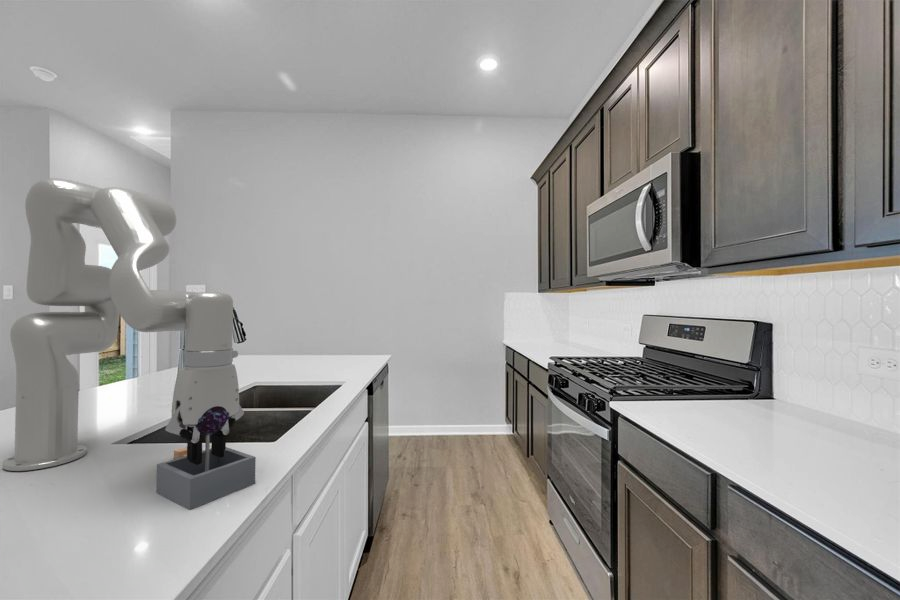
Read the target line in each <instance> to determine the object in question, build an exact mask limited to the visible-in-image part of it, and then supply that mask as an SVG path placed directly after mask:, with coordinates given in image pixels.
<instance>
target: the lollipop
mask: <svg viewBox="0 0 900 600" xmlns="http://www.w3.org/2000/svg"><path fill="white" fill-rule="evenodd" d="M228 419H229V412H227V411H226V409H225V408H223V407H221V406H216V407H212V408H210V409H208V410H207V411H206V412H205V413H204V414H203V415H202V417H201V418H200V419H199V420H198V424H197V425H195V426H196V429H197V430H198V431H199V432H200V436H205V449H204V450H205V472H206V471H209V449H210V444H211V443H210V440H211V438H210V437H211V436H212V434H214V433H216V432H218V431H219V430H220V429H222V428H223V426H224V425H225V423H226V421H227V420H228ZM189 428H190V429H191V430H192V428H191V427H189Z"/></svg>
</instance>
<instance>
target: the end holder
mask: <svg viewBox="0 0 900 600" xmlns="http://www.w3.org/2000/svg"><path fill="white" fill-rule="evenodd" d="M155 482H156V483H155V486H156V487H155V488H156V489H155V493H156V494H158V495H161V496H162V497H164V498H166V499H168V500H170V501H172V502H174V503H176V504H177V505H180V506H182V507H183V508H185V509H187V510H189V511H190V510H193V509H195V508H198V507H201V506H202V505H205V504H208V503H211V502H213V501H215V500H218V499H220V498H223V497H226V496H228V495H230V494H232V493H235V492H238V491H240V490H242V489H245V488H247V487H248V488H249V487H250V486H253V485H254V484H256V456H254V455H251V454H248V453H245V452H242V451H239V450H236V449H233V448H230V447H227V446H226V449H225V450H224V457H217V456H215V455H212V454H211V448H209V471H206V472H205V449H204V450H202V463H201V464H199V465H196V464H193V463H191V462H189V460H188V459H187V456H183V457H180V458H177V459H174V458H173V459H170V460H167V461H163V462H161V463H157V464H156V481H155Z"/></svg>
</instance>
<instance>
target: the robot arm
mask: <svg viewBox="0 0 900 600" xmlns="http://www.w3.org/2000/svg"><path fill="white" fill-rule="evenodd" d="M24 207H25V215H26V216H25V217H26V220H27V224H28V228H29V232H30V233H29V234H30V246H29V256H28V265H27V275H26V276H27V277H26V294H27V298H28V299H29V300H30V301H31V302H33V303H34V304H37V305H40V306H51V307H52V306H53V307H84V311H44V312H33V313H29V314H25V315H24V316H20V317H19V318H18V319H16V320H15V322H13V324H12V326H11V327H10V331H9V332H10V333H9V337H10V343H11V347H12V351H13V356H14V362H15V378H16V379H15V415H14V416H15V419H14V420H15V421H14V424H15V425H14V453H13V454H14V455H13V456H12V455H11V456H10V457H8V458H6V459H5V460H4V461H3V462H2V469H3V470H5V471H9V472H12V471H13V472H23V471H25V472H26V471H34V470H40V469H46V468H52V467H55V466H60V465H64V464H67V463H70V462H73V461H75V460H78V459H80V458H81V457H83V456H85V455H86V454H87V451H88V450H87V449H88V448H87V446H86V445H83V444H78V442H79V441H78V436H79V435H78V434H79V433H78V432H79V431H78V430H79V399H80V398H79V397H80V396H79V395H80V394H79V392H80V391H79V390H80V388H79V387H80V383H79V382H80V376H79V372H78V370H77V368H76V367H75V366H74V365H73V364H72V362H71V361H70V360H69V359H68V358H67V356H71V355H78V354H90V353H91V354H92V353H99V352H103V351H107V350H108V349H110V348H111V347H112V346H113V345H114V344H115V342H116V340H117V337H118V332H119V323H120V316H121V318H122V319H123V321H124V323H126V324H127V325H128V326H129V327H131V329H133V330H135V331H137V332H142V333H157V332H158V333H159V332H179V331H180V332H181V331H185V332H184V333H185V336H184V365H183V367H182V368H178V372H177V375H176V379H175V382H174V388H173V393H172V401H171V402H172V403H171V404H172V405H171V417H170V420H169V421H168V423H167V425H166V426H165V429H164V430H165V432H167V433H170V434H174V435H177V436H179V437H180V438H182V439H183V440H184V441H186V443H187V445H186V447H187V459H188V460H189V462H191V463H193V464H196V465H199V464H201V463H202V451H203V442H202V441H201V440H200V436H201V435H200V432H199V431H198V430H197V429H196V426H195V425H197V424H198V420H199V419H200V418H201V417H202V415H203V414H204V413H205V412H206V411H207V410H208V409H210V408H212V407H216V406H221V407H223V408H225V409H226V411H227V412H229V419H228V420H227V421H226V423H225V425H224V426H223V428H222V429H220V430H219V431H218V432H216V433H214V434H211V448H210V449H211V454H212V455H215V456H217V457H224V450H225V449H226V447H227V446H226V444H227V443H226V442H227V435H228V434H229V433H230V429H231V428H232V427H233V426H234V424H235V423H236V421H239V419H241V418H242V416H244V414H245V411H244V410H243V408H242V407H241V404H240V391H239V380H238V374H237V369H236V365H235V364H233V363H232V362H234V360H233V359H234V358H238V356H239V352H238V350H234V349H233V333H234V332H233V330H234V329H233V323H234V320H233V319H234V300H233V297H232V296H231V295H230V294H228V293H224V292H206V291H205V292H196V291H195V292H194V291H179V290H160V289H157V290H156V289H150V288H149V287H148V286H147V283H146V282H145V280H144V278H143V276H142V275H141V272H140V271H143V270H147V269H148V268H153V267H154V266H156V265H158V264H160V263H161V262H162V261H164V260H165V259H166V258H167V257H168V255H169V253H170V246H169V244H168V241H167V240H166V238H165V236H169V235H170V234H171V233H172V232H173V231H174V229H175V227H176V224H177V216H176V211H175V210H174V208H173V207H172V205H171V204H169V203H168V202H167V201H166V200H164V199H162V198H161V197H157V196H154V195H150V194H147V193H143V192H139V191H136V190H130V189H128V188H122V187H116V186H115V187H105V188H101V187H98V186H95V185H91V184H87V183H83V182H79V181H74V180H71V179H64V178H54V177H53V178H52V177H51V178H43V179H39V180H38V181H36V182H35V183H33V184H32V185H31V187H30V188H29V189H28V193H27V195H26V197H25V206H24ZM74 224H78V225H85V226H90V227H95V228H100V229H102V232H103V233H104V235H105V236H106V239H107V241H108V243H109V244H110V245H111V248H112V250H113V251H114V253H115V254H116V256H117V259H116V260H115V261H114V263H113V265H112V267H111V268H109V267H107V266H102V265H95V264H86V261H85V260H86V251H87V244H86V242H85V239H84V238H83V236H82V234H81V233H80V231H79V229H78V228H77V227H76V226H75V225H74ZM181 423H182V424H183V426H185V428H183V427H181V426H180V424H181ZM189 427H191V428H192V430H191V429H190V428H189Z"/></svg>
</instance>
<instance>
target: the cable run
mask: <svg viewBox="0 0 900 600" xmlns="http://www.w3.org/2000/svg"><path fill="white" fill-rule="evenodd" d="M183 456H187V446H186V447H182V448H178V449H174V450H173V459H177V458H180V457H183Z"/></svg>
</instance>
